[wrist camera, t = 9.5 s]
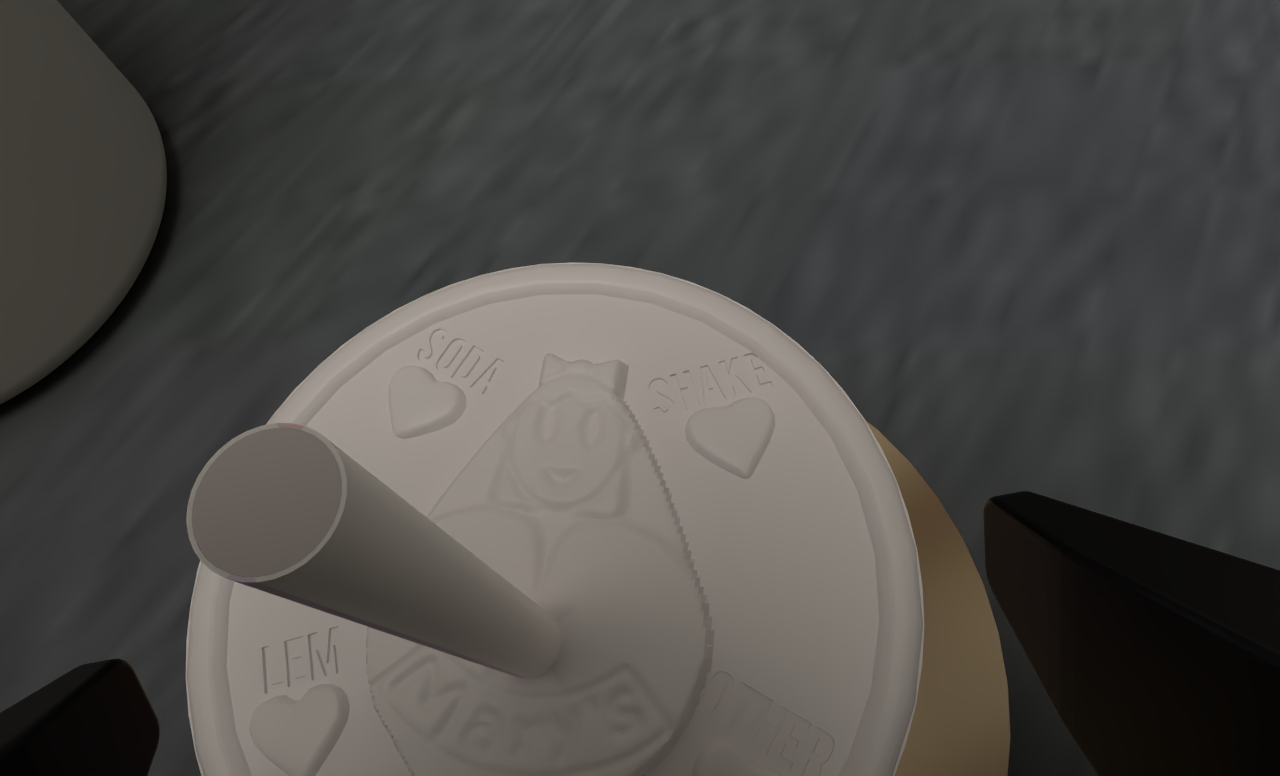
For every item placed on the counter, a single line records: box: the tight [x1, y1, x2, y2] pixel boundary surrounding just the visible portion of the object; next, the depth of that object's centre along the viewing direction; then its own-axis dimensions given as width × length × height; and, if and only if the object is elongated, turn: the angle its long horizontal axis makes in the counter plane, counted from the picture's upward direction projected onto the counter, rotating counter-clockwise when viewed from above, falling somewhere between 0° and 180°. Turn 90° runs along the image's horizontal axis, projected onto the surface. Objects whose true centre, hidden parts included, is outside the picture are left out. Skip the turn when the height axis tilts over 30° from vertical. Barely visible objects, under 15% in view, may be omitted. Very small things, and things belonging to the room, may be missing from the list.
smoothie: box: [186, 263, 924, 776], centre depth 9 cm, size 6×6×14 cm
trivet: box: [865, 420, 1010, 776], centre depth 16 cm, size 14×14×1 cm
